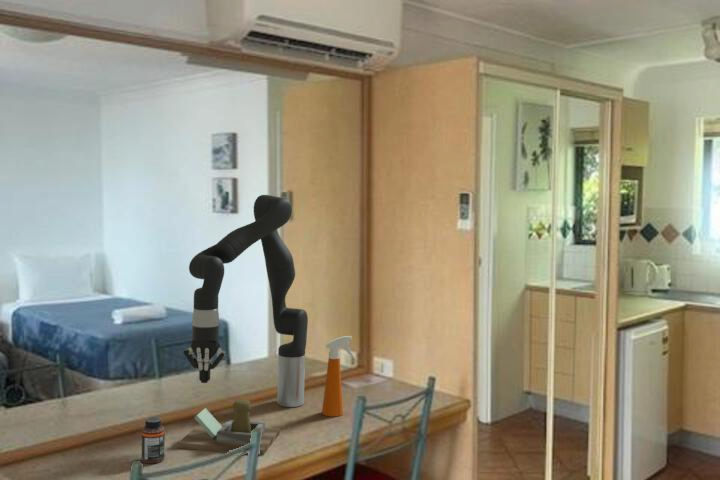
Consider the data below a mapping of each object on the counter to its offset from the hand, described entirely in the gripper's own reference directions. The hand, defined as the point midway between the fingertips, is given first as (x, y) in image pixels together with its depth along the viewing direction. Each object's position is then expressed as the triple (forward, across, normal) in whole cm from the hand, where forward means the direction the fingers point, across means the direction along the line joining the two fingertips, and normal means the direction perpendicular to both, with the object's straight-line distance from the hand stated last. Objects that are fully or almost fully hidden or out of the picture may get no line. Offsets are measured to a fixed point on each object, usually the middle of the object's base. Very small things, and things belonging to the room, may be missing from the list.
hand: (204, 382), depth 207 cm
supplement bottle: (+17, +8, +18) cm, 26 cm away
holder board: (+17, -8, -1) cm, 19 cm away
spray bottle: (+17, -34, -33) cm, 51 cm away
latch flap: (+13, -1, 0) cm, 13 cm away
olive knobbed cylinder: (+16, -12, 0) cm, 20 cm away
